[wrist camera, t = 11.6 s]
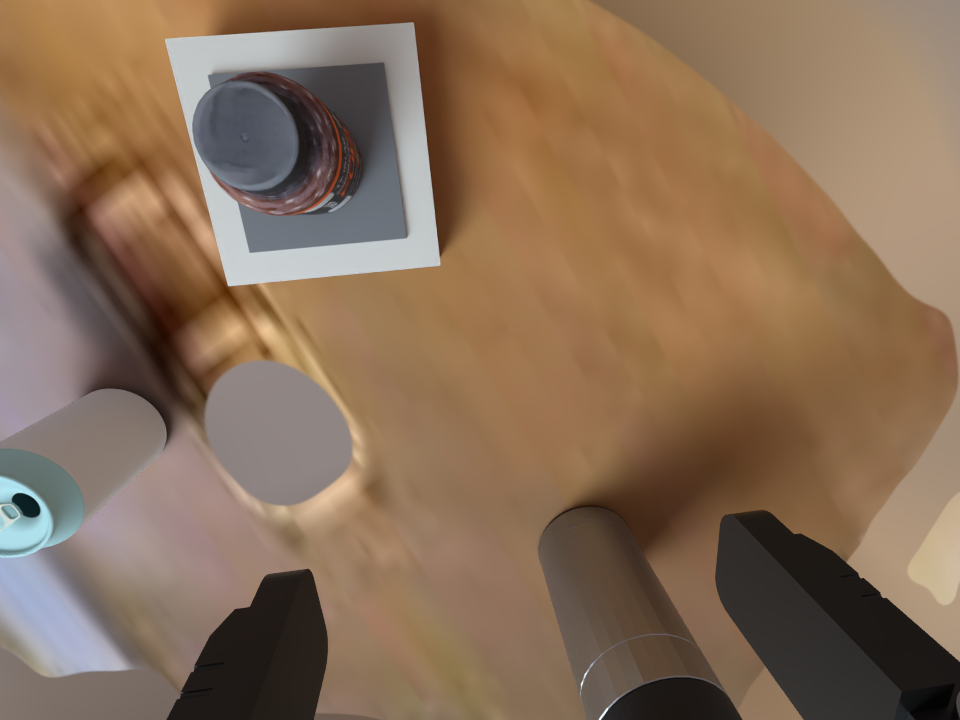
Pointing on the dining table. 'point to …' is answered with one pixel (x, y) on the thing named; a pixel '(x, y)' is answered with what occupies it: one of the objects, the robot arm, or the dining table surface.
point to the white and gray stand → (372, 121)
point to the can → (73, 466)
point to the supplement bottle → (276, 146)
